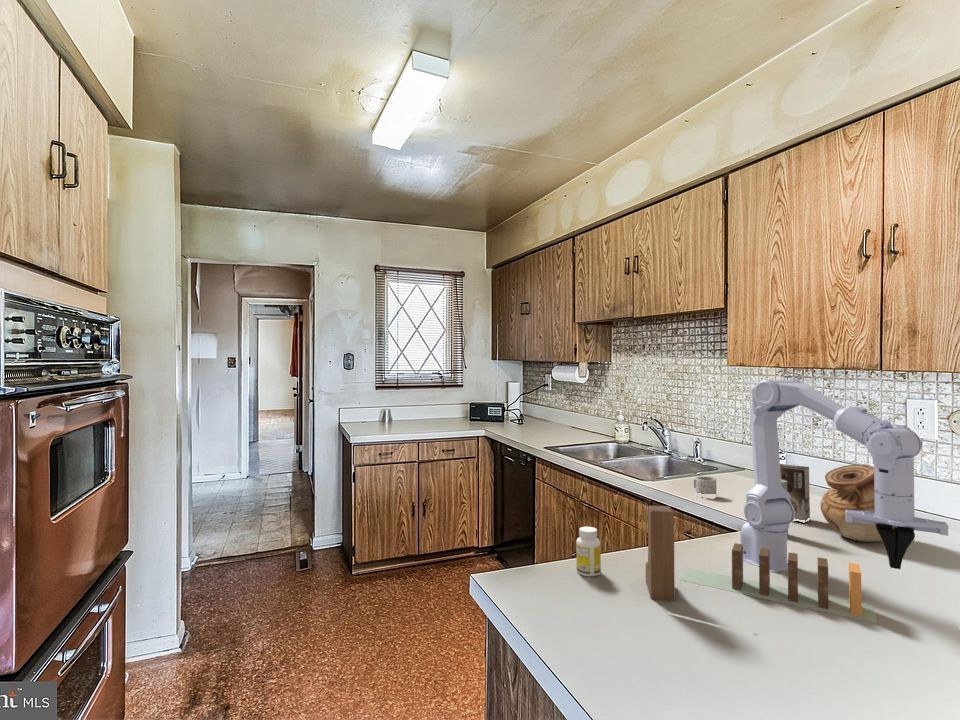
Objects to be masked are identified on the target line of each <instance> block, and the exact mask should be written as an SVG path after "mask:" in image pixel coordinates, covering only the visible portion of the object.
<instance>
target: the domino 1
mask: <svg viewBox="0 0 960 720" xmlns="http://www.w3.org/2000/svg"><path fill="white" fill-rule="evenodd" d="M731 577H732V589H737V590H741V587H742V584H743V579H744V561H743V544H740V543H737V542H734V544H733V546H732V548H731Z"/></svg>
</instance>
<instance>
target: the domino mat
mask: <svg viewBox="0 0 960 720" xmlns="http://www.w3.org/2000/svg"><path fill="white" fill-rule="evenodd" d="M678 580H679V581H682V582H685V583H686V582H687V583H690V584H691V583H692V584H695V585H700V586H705V587H708V588H709V587H710V588H714V589H719V590H723V591H727V592H731V593H738V594H741V595H746V596H749V597H756V598H759V599H765V600H768V601H772V602H773V601H774V602H778V603H781V604H786V605H791V606H796V607H801V608H806V609H810V610H814V611H818V612H824V613H829V614H834V615H837V616H842V617H846V618H852V619H856V620H860V621H865V622H870V623H873V624H878V621H877V616H876V615H875V614H876V613H875V610H874V608H873V607H874V606H873V605H871V604H868V603H862V602H861V604H862V617H861V616H857V615H852V614H851V612H850V606H849V599H848V600H847V599H843V598H838V597H834V596H828V602H829V609H825V608H820V607H818V593H813V592H808V591H804V590H799V589H798V603H797V602H792V601H788V587H784V586H779V585H774V584H770V589H769V596H765V595H760V594H759V581H755V580H749V579H744V578H743V584H742V587H741V590H737V589H732V575H731V576H730V575H724V574H720V573H715V572H711V571H705V570H701V569H696V568H693V567H692V568H691V567H686V568H685V569H684V571H683V573H682V574H681V576H680V578H679V579H678Z"/></svg>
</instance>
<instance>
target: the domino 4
mask: <svg viewBox="0 0 960 720" xmlns="http://www.w3.org/2000/svg"><path fill="white" fill-rule="evenodd" d="M817 594H818V607H820V608H825V609H829V602H828V597H829V563H828V558H824V557H819V556H818V557H817Z"/></svg>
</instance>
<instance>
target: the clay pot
mask: <svg viewBox="0 0 960 720" xmlns="http://www.w3.org/2000/svg"><path fill="white" fill-rule="evenodd" d="M824 479H825V481H826V483H827V486H828V487H830V489H828V490H827V491H826V492H825V493H824V494H823V496H822V498H821V499H820V500H821V501H820V510H821V513H822V516H823V517H824V519H825V521H826V522H827V523H828V524H829V526H830V527H831V528H832V529H833V531H835V532H836V533H837V534H839V535H841V536H843V537H845V538H847V539H849V538H850V539H849V540H852V539H853V540H852V541H856V540H857V542H862V541H863V542H864V543H865V542H866V543H870V542H875V543H877V542H881V541H882V542H883V540H882V538H881V536H880V534H879V533H878V531H877V528H876V526H875V525H872V524H864V523H857V522H853V523H850V522H846V512H845V510H854V511H871V512H875V497H874V466H871V465H867V464H848V465H843V466H839V467H836V468H834V469H832V470H830V471H828V472H826V474H825V476H824ZM892 528H893V529H894V527H892Z"/></svg>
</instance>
